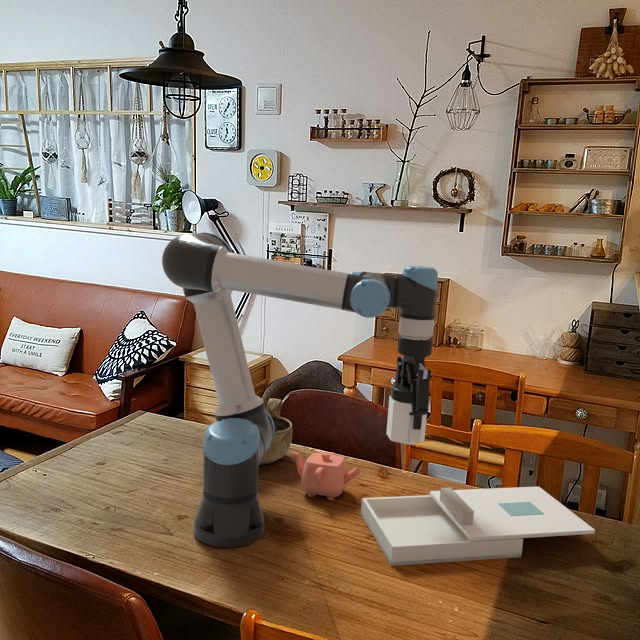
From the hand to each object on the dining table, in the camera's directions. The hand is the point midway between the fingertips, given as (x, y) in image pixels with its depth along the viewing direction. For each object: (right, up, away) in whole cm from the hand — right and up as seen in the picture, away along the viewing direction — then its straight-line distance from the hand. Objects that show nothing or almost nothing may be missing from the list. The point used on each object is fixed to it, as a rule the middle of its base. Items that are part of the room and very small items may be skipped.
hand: (407, 436), depth 145 cm
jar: (0, -1, +1) cm, 1 cm away
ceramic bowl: (-36, -12, +31) cm, 49 cm away
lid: (+22, -16, -3) cm, 27 cm away
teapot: (-19, -16, +13) cm, 28 cm away
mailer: (+6, -20, -6) cm, 22 cm away
